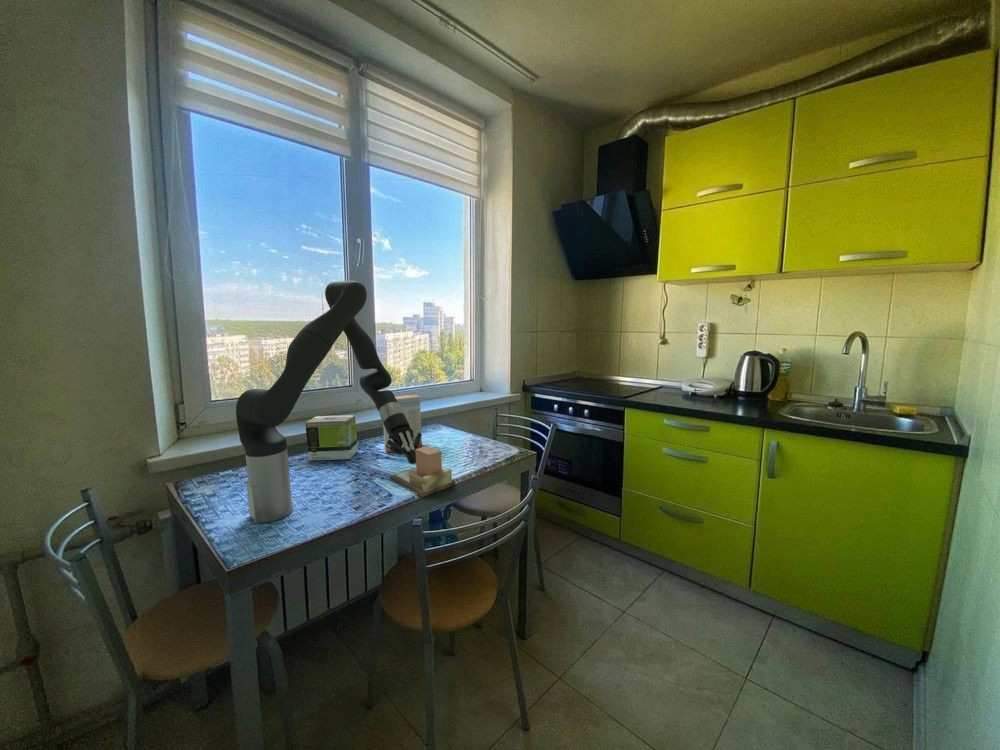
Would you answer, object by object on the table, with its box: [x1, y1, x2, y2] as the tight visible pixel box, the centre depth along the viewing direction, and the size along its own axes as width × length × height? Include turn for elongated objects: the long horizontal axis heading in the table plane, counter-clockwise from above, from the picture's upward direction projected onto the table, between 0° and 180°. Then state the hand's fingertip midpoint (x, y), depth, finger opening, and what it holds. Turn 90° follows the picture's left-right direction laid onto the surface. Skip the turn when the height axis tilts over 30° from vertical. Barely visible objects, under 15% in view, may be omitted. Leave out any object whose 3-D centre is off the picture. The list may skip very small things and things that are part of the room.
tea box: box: [304, 414, 358, 461], centre depth 143 cm, size 15×10×15 cm, turn 94°
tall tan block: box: [415, 445, 443, 477], centre depth 117 cm, size 4×7×10 cm, turn 45°
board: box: [389, 467, 456, 498], centre depth 120 cm, size 12×18×5 cm, turn 45°
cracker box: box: [382, 394, 423, 453], centre depth 151 cm, size 14×6×21 cm, turn 114°
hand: (414, 462), depth 123 cm, fingers closed
